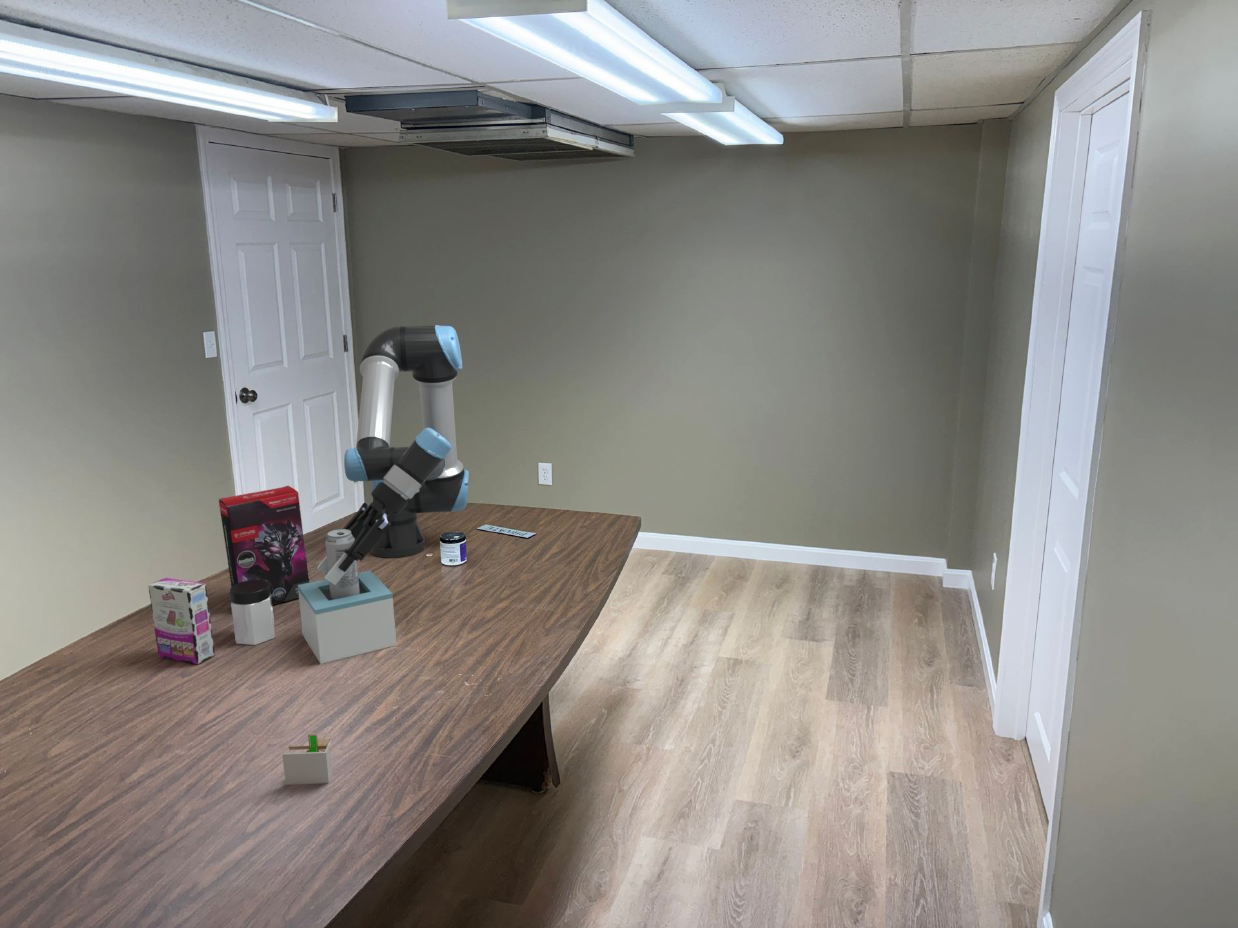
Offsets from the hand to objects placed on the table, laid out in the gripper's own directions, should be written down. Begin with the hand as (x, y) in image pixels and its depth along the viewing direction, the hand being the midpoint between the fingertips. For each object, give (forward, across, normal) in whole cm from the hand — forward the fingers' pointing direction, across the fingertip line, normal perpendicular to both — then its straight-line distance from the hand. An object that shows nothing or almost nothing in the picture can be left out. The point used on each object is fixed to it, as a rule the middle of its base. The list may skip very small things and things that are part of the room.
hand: (325, 576), depth 185 cm
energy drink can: (+2, 0, -7) cm, 7 cm away
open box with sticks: (+23, -48, 0) cm, 53 cm away
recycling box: (+9, 0, -14) cm, 16 cm away
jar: (+21, +13, -2) cm, 25 cm away
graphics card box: (+16, +32, -7) cm, 36 cm away
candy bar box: (+31, +11, +8) cm, 34 cm away
